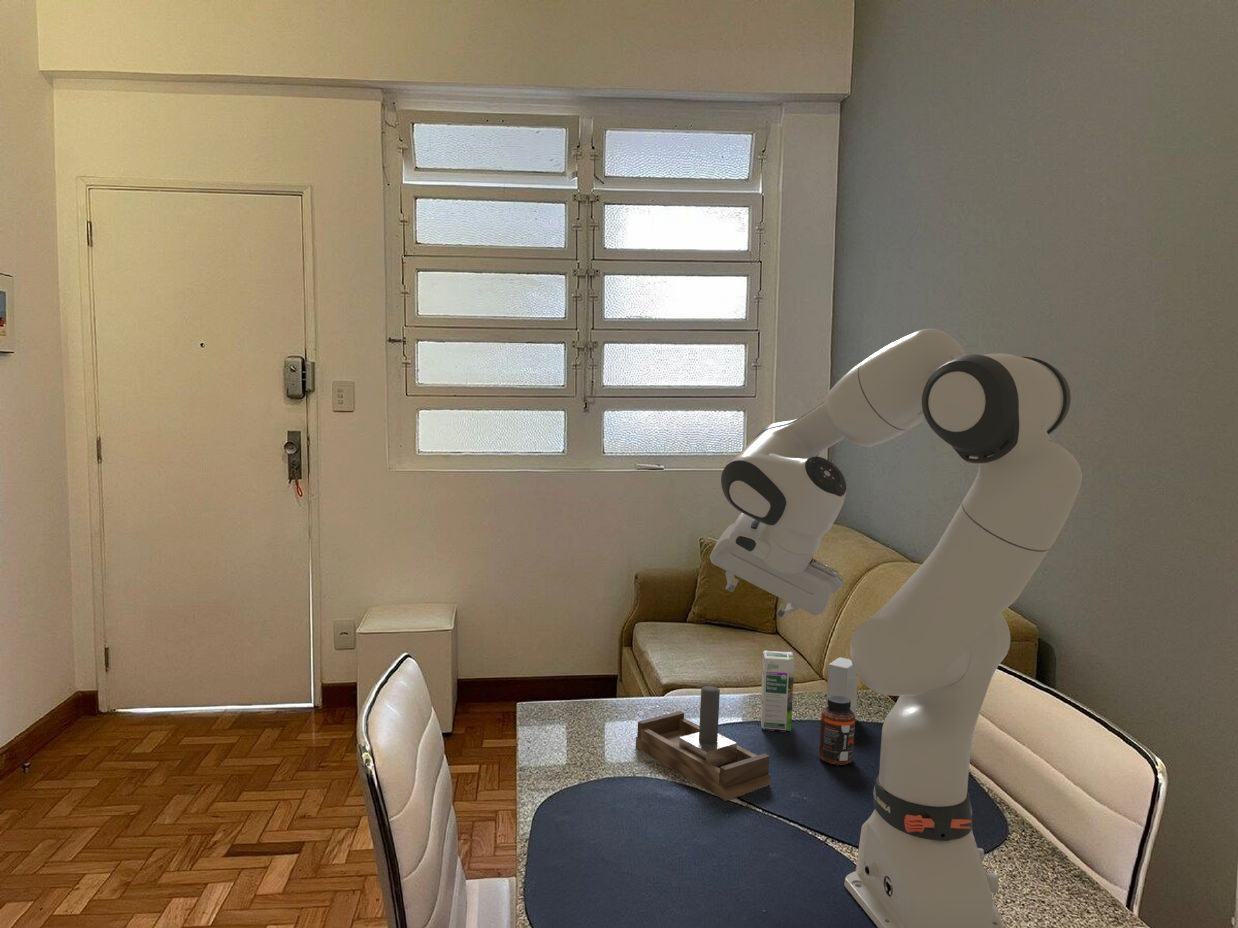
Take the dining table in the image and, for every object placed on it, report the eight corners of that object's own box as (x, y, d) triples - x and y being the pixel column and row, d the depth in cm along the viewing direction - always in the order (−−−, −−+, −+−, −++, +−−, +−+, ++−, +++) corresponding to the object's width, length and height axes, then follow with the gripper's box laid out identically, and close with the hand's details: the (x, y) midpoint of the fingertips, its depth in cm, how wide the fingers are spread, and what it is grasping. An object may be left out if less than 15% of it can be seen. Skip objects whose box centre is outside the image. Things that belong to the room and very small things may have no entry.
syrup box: (761, 730, 167) (765, 657, 166) (759, 718, 173) (763, 648, 172) (791, 732, 166) (795, 659, 165) (788, 721, 172) (792, 650, 171)
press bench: (770, 785, 144) (771, 756, 143) (724, 800, 138) (726, 770, 137) (678, 735, 163) (679, 709, 163) (635, 747, 157) (636, 720, 157)
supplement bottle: (853, 768, 151) (857, 706, 150) (819, 764, 152) (822, 702, 151) (851, 754, 157) (855, 694, 156) (818, 751, 158) (821, 691, 157)
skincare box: (835, 712, 178) (839, 656, 176) (855, 718, 175) (859, 660, 174) (824, 721, 173) (827, 663, 172) (844, 727, 170) (848, 668, 169)
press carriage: (736, 759, 148) (739, 691, 147) (705, 769, 144) (708, 699, 143) (708, 745, 154) (711, 679, 152) (678, 753, 149) (681, 686, 148)
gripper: (851, 563, 136) (816, 617, 145) (734, 506, 139) (707, 562, 148) (843, 589, 131) (808, 643, 140) (722, 528, 134) (695, 585, 143)
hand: (755, 601), depth 144 cm, fingers open, 8 cm apart
